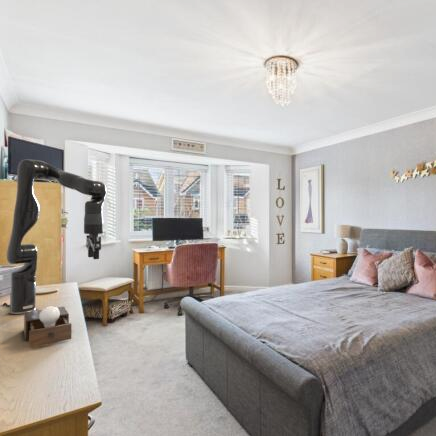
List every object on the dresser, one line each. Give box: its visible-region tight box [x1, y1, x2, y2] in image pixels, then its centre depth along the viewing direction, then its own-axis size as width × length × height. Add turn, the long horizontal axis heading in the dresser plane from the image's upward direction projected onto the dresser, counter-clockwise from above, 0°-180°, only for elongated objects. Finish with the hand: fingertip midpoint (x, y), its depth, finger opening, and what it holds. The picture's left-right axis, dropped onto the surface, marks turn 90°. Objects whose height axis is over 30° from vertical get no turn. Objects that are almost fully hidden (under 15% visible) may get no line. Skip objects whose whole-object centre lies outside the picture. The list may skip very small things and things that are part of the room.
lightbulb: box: [39, 305, 60, 328], centre depth 121 cm, size 6×6×11 cm
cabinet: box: [23, 306, 70, 341], centre depth 130 cm, size 14×14×8 cm
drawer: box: [28, 317, 72, 349], centre depth 120 cm, size 14×12×6 cm
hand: (93, 258), depth 147 cm, fingers open, 8 cm apart
